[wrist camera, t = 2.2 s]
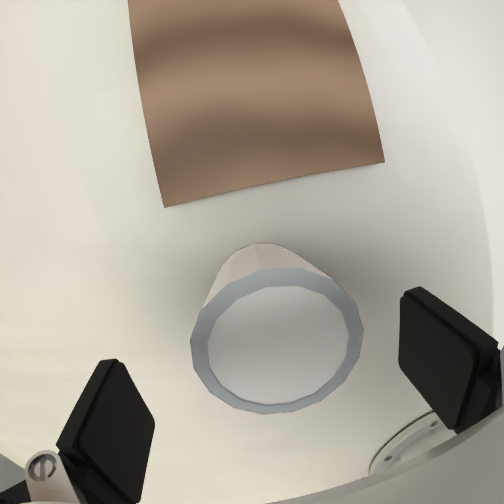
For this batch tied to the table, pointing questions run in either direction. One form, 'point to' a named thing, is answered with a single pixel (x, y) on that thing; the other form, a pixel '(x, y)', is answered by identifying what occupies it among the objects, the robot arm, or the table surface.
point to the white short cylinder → (274, 332)
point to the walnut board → (249, 93)
